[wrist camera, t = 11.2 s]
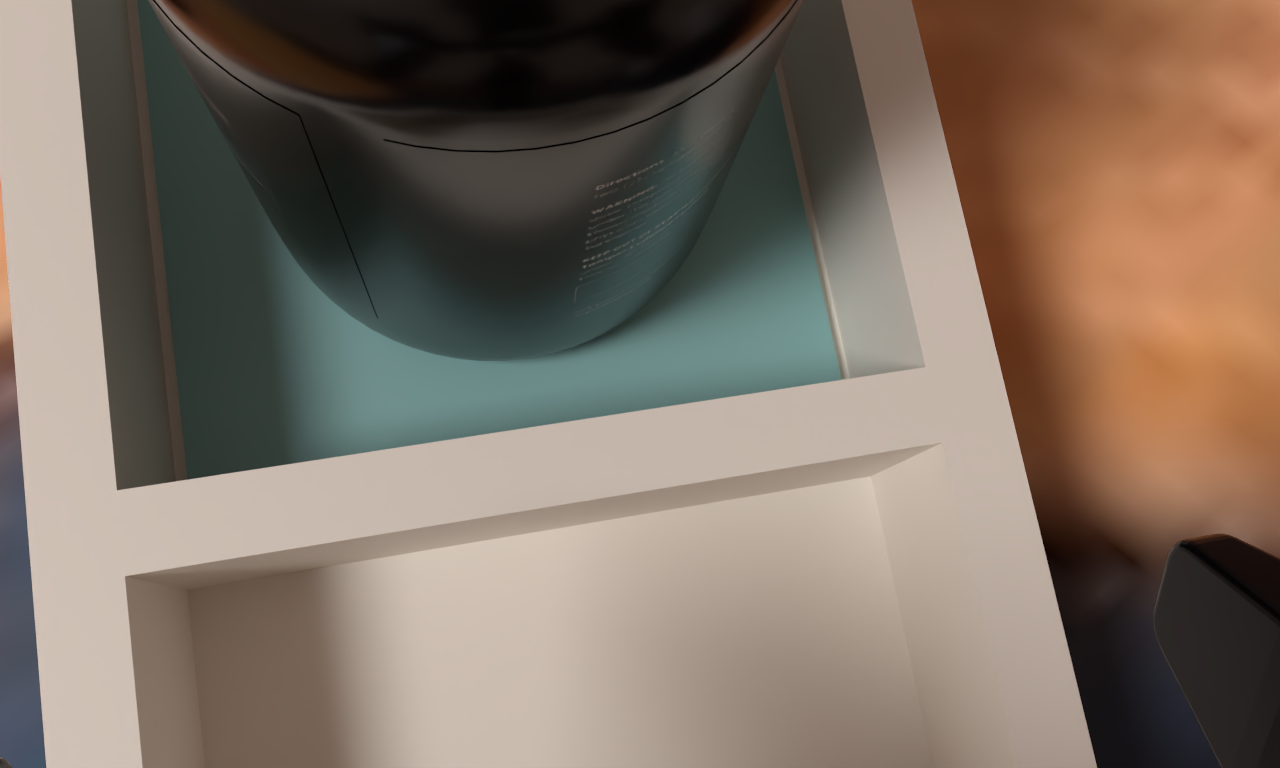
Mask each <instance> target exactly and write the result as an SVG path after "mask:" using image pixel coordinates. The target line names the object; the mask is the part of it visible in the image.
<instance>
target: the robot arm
mask: <svg viewBox="0 0 1280 768" xmlns="http://www.w3.org/2000/svg"><path fill="white" fill-rule="evenodd" d="M1153 626H1154V632H1155V635H1156V639H1157V641H1158V644H1159V646H1160V648H1161V650H1162V652H1163V654H1164V656H1165V658H1166V660H1167V662H1168V664H1169V666H1170V668H1171V670H1172V672H1173V674H1174V676H1175V678H1176V680H1177V682H1178V683H1179V685H1180V687H1181V689H1182V691H1183V693H1184V695H1185V697H1186V699H1187V701H1188V703H1189V705H1190V707H1191V709H1192V711H1193V713H1194V715H1195V717H1196V719H1197V721H1198V723H1199V725H1200V727H1201V729H1202V731H1203V732H1204V734H1205V736H1206V738H1207V740H1208V742H1209V744H1210V746H1211V748H1212V750H1213V752H1214V754H1215V756H1216V758H1217V760H1218V762H1219V764H1220V766H1221V768H1280V558H1277V557H1275V556H1273V555H1271V554H1269V553H1267V552H1265V551H1263V550H1260V549H1258V548H1256V547H1254V546H1252V545H1250V544H1248V543H1246V542H1244V541H1241V540H1239V539H1237V538H1235V537H1232V536H1230V535H1226V534H1213V535H1207V536H1202V537H1196V538H1191V539H1185V540H1181V541H1179V542H1177V543H1176V544H1175V545H1174V546H1173V548H1172V549H1171V550H1170V552H1169V555H1168V558H1167V562H1166V566H1165V570H1164V574H1163V577H1162V581H1161V585H1160V589H1159V593H1158V597H1157V600H1156V604H1155V608H1154V613H1153ZM0 768H12V766H11V765H10V763H9V762H8V761H6V760H5V759H4V758H1V757H0Z"/></svg>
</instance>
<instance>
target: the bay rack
mask: <svg viewBox="0 0 1280 768" xmlns="http://www.w3.org/2000/svg"><path fill="white" fill-rule="evenodd" d="M0 178H1V190H2V203H3V216H4V229H5V242H6V255H7V267H8V280H9V293H10V306H11V319H12V332H13V344H14V357H15V370H16V383H17V396H18V408H19V421H20V434H21V447H22V460H23V473H24V485H25V498H26V511H27V524H28V537H29V550H30V562H31V575H32V588H33V601H34V614H35V626H36V639H37V652H38V665H39V678H40V691H41V703H42V716H43V729H44V742H45V755H46V768H1097V765H1096V761H1095V756H1094V752H1093V748H1092V744H1091V740H1090V736H1089V732H1088V727H1087V723H1086V719H1085V715H1084V711H1083V707H1082V703H1081V699H1080V694H1079V690H1078V686H1077V682H1076V678H1075V674H1074V670H1073V665H1072V661H1071V657H1070V653H1069V649H1068V645H1067V641H1066V637H1065V632H1064V628H1063V624H1062V620H1061V616H1060V612H1059V608H1058V603H1057V599H1056V595H1055V591H1054V587H1053V583H1052V579H1051V575H1050V570H1049V566H1048V562H1047V558H1046V554H1045V550H1044V546H1043V541H1042V537H1041V533H1040V529H1039V525H1038V521H1037V517H1036V513H1035V508H1034V504H1033V500H1032V496H1031V492H1030V488H1029V484H1028V479H1027V475H1026V471H1025V467H1024V463H1023V459H1022V455H1021V451H1020V446H1019V442H1018V438H1017V434H1016V430H1015V426H1014V422H1013V417H1012V413H1011V409H1010V405H1009V401H1008V397H1007V393H1006V389H1005V384H1004V380H1003V376H1002V372H1001V368H1000V364H999V360H998V355H997V351H996V347H995V343H994V339H993V335H992V331H991V327H990V322H989V318H988V314H987V310H986V306H985V302H984V298H983V293H982V289H981V285H980V281H979V277H978V273H977V269H976V265H975V260H974V256H973V252H972V248H971V244H970V240H969V236H968V231H967V227H966V223H965V219H964V215H963V211H962V207H961V203H960V198H959V194H958V190H957V186H956V182H955V178H954V174H953V169H952V165H951V161H950V157H949V153H948V149H947V145H946V141H945V136H944V132H943V128H942V124H941V120H940V116H939V112H938V107H937V103H936V99H935V95H934V91H933V87H932V83H931V78H930V74H929V70H928V66H927V62H926V58H925V54H924V50H923V45H922V41H921V37H920V33H919V29H918V25H917V21H916V16H915V12H914V8H913V4H912V0H804V2H803V5H802V7H801V9H800V11H799V14H798V16H797V18H796V21H795V23H794V25H793V28H792V30H791V32H790V34H789V37H788V39H787V41H786V44H785V46H784V48H783V50H782V53H781V55H780V57H779V60H778V62H777V64H776V66H775V69H774V71H773V73H772V76H771V78H770V80H769V83H768V85H767V87H766V89H765V92H764V94H763V96H762V99H761V101H760V103H759V105H758V108H757V110H756V112H755V115H754V117H753V119H752V121H751V124H750V126H749V128H748V131H747V133H746V135H745V137H744V140H743V142H742V144H741V147H740V149H739V151H738V154H737V156H736V158H735V160H734V163H733V165H732V167H731V170H730V172H729V174H728V176H727V179H726V181H725V183H724V186H723V188H722V190H721V192H720V195H719V197H718V199H717V202H716V204H715V206H714V208H713V211H712V212H711V214H710V216H709V218H708V220H707V222H706V224H705V227H704V229H703V231H702V233H701V234H700V236H699V238H698V240H697V242H696V244H695V246H694V248H693V250H692V251H691V253H690V254H689V256H688V257H687V259H686V260H685V262H684V263H683V265H682V266H681V268H680V269H679V270H678V272H677V273H676V274H675V275H674V276H673V278H672V279H671V280H670V281H669V282H668V284H667V285H666V286H665V287H664V288H663V289H662V290H661V291H660V292H659V293H658V294H657V295H656V296H655V297H654V298H653V299H652V300H651V301H650V302H649V303H648V304H647V305H646V306H644V307H643V308H642V309H641V310H640V311H638V312H637V313H636V314H635V315H633V316H632V317H631V318H629V319H628V320H626V321H625V322H623V323H621V324H620V325H618V326H617V327H615V328H614V329H612V330H610V331H608V332H606V333H604V334H603V335H601V336H599V337H597V338H595V339H593V340H590V341H588V342H585V343H583V344H581V345H578V346H576V347H573V348H570V349H567V350H563V351H560V352H556V353H553V354H549V355H544V356H539V357H534V358H529V359H519V360H509V361H476V360H466V359H456V358H451V357H446V356H441V355H435V354H432V353H428V352H425V351H421V350H418V349H415V348H411V347H409V346H406V345H404V344H401V343H399V342H396V341H394V340H391V339H389V338H387V337H385V336H383V335H382V334H380V333H378V332H376V331H374V330H372V329H370V328H368V327H367V326H365V325H364V324H362V323H361V322H359V321H358V320H356V319H354V318H353V317H351V316H350V315H349V314H347V313H346V312H345V311H344V310H342V309H341V308H340V307H339V306H337V305H336V304H335V303H334V302H332V301H331V300H330V299H329V298H328V297H327V296H326V295H325V294H324V293H323V292H322V291H321V290H320V289H319V288H318V287H317V286H316V285H315V284H314V283H313V282H312V280H311V279H310V278H309V277H308V276H307V274H306V273H305V272H304V271H303V270H302V268H301V267H300V266H299V265H298V264H297V262H296V261H295V259H294V258H293V256H292V255H291V253H290V252H289V250H288V249H287V247H286V246H285V244H284V243H283V241H282V239H281V238H280V236H279V234H278V233H277V231H276V230H275V228H274V227H273V225H272V223H271V221H270V220H269V218H268V216H267V214H266V212H265V211H264V209H263V207H262V205H261V203H260V202H259V200H258V198H257V196H256V194H255V193H254V191H253V189H252V187H251V185H250V184H249V182H248V180H247V178H246V176H245V175H244V173H243V171H242V169H241V167H240V166H239V164H238V162H237V160H236V158H235V157H234V155H233V153H232V151H231V149H230V147H229V146H228V144H227V142H226V140H225V138H224V137H223V135H222V133H221V131H220V129H219V128H218V126H217V124H216V122H215V120H214V119H213V117H212V115H211V113H210V111H209V110H208V108H207V106H206V104H205V102H204V101H203V99H202V97H201V95H200V93H199V92H198V90H197V88H196V86H195V84H194V83H193V81H192V79H191V77H190V75H189V74H188V72H187V70H186V68H185V66H184V65H183V63H182V61H181V59H180V57H179V55H178V54H177V52H176V50H175V48H174V46H173V45H172V43H171V41H170V39H169V37H168V36H167V34H166V32H165V30H164V28H163V27H162V25H161V23H160V21H159V19H158V18H157V16H156V14H155V12H154V10H153V9H152V7H151V5H150V3H149V1H148V0H0Z"/></svg>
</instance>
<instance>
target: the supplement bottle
mask: <svg viewBox="0 0 1280 768" xmlns="http://www.w3.org/2000/svg"><path fill="white" fill-rule="evenodd" d="M148 1H149V3H150V5H151V7H152V9H153V10H154V12H155V14H156V16H157V18H158V19H159V21H160V23H161V25H162V27H163V28H164V30H165V32H166V34H167V36H168V37H169V39H170V41H171V43H172V45H173V46H174V48H175V50H176V52H177V54H178V55H179V57H180V59H181V61H182V63H183V65H184V66H185V68H186V70H187V72H188V74H189V75H190V77H191V79H192V81H193V83H194V84H195V86H196V88H197V90H198V92H199V93H200V95H201V97H202V99H203V101H204V102H205V104H206V106H207V108H208V110H209V111H210V113H211V115H212V117H213V119H214V120H215V122H216V124H217V126H218V128H219V129H220V131H221V133H222V135H223V137H224V138H225V140H226V142H227V144H228V146H229V147H230V149H231V151H232V153H233V155H234V157H235V158H236V160H237V162H238V164H239V166H240V167H241V169H242V171H243V173H244V175H245V176H246V178H247V180H248V182H249V184H250V185H251V187H252V189H253V191H254V193H255V194H256V196H257V198H258V200H259V202H260V203H261V205H262V207H263V209H264V211H265V212H266V214H267V216H268V218H269V220H270V221H271V223H272V225H273V227H274V228H275V230H276V231H277V233H278V234H279V236H280V238H281V239H282V241H283V243H284V244H285V246H286V247H287V249H288V250H289V252H290V253H291V255H292V256H293V258H294V259H295V261H296V262H297V264H298V265H299V266H300V267H301V268H302V270H303V271H304V272H305V273H306V274H307V276H308V277H309V278H310V279H311V280H312V282H313V283H314V284H315V285H316V286H317V287H318V288H319V289H320V290H321V291H322V292H323V293H324V294H325V295H326V296H327V297H328V298H329V299H330V300H331V301H332V302H334V303H335V304H336V305H337V306H339V307H340V308H341V309H342V310H344V311H345V312H346V313H347V314H349V315H350V316H351V317H353V318H354V319H356V320H358V321H359V322H361V323H362V324H364V325H365V326H367V327H368V328H370V329H372V330H374V331H376V332H378V333H380V334H382V335H383V336H385V337H387V338H389V339H391V340H394V341H396V342H399V343H401V344H404V345H406V346H409V347H411V348H415V349H418V350H421V351H425V352H428V353H432V354H435V355H441V356H446V357H451V358H456V359H466V360H476V361H509V360H519V359H529V358H534V357H539V356H544V355H549V354H553V353H556V352H560V351H563V350H567V349H570V348H573V347H576V346H578V345H581V344H583V343H585V342H588V341H590V340H593V339H595V338H597V337H599V336H601V335H603V334H604V333H606V332H608V331H610V330H612V329H614V328H615V327H617V326H618V325H620V324H621V323H623V322H625V321H626V320H628V319H629V318H631V317H632V316H633V315H635V314H636V313H637V312H638V311H640V310H641V309H642V308H643V307H644V306H646V305H647V304H648V303H649V302H650V301H651V300H652V299H653V298H654V297H655V296H656V295H657V294H658V293H659V292H660V291H661V290H662V289H663V288H664V287H665V286H666V285H667V284H668V282H669V281H670V280H671V279H672V278H673V276H674V275H675V274H676V273H677V272H678V270H679V269H680V268H681V266H682V265H683V263H684V262H685V260H686V259H687V257H688V256H689V254H690V253H691V251H692V250H693V248H694V246H695V244H696V242H697V240H698V238H699V236H700V234H701V233H702V231H703V229H704V227H705V224H706V222H707V220H708V218H709V216H710V214H711V212H712V211H713V208H714V206H715V204H716V202H717V199H718V197H719V195H720V192H721V190H722V188H723V186H724V183H725V181H726V179H727V176H728V174H729V172H730V170H731V167H732V165H733V163H734V160H735V158H736V156H737V154H738V151H739V149H740V147H741V144H742V142H743V140H744V137H745V135H746V133H747V131H748V128H749V126H750V124H751V121H752V119H753V117H754V115H755V112H756V110H757V108H758V105H759V103H760V101H761V99H762V96H763V94H764V92H765V89H766V87H767V85H768V83H769V80H770V78H771V76H772V73H773V71H774V69H775V66H776V64H777V62H778V60H779V57H780V55H781V53H782V50H783V48H784V46H785V44H786V41H787V39H788V37H789V34H790V32H791V30H792V28H793V25H794V23H795V21H796V18H797V16H798V14H799V11H800V9H801V7H802V5H803V2H804V0H148Z"/></svg>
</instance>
